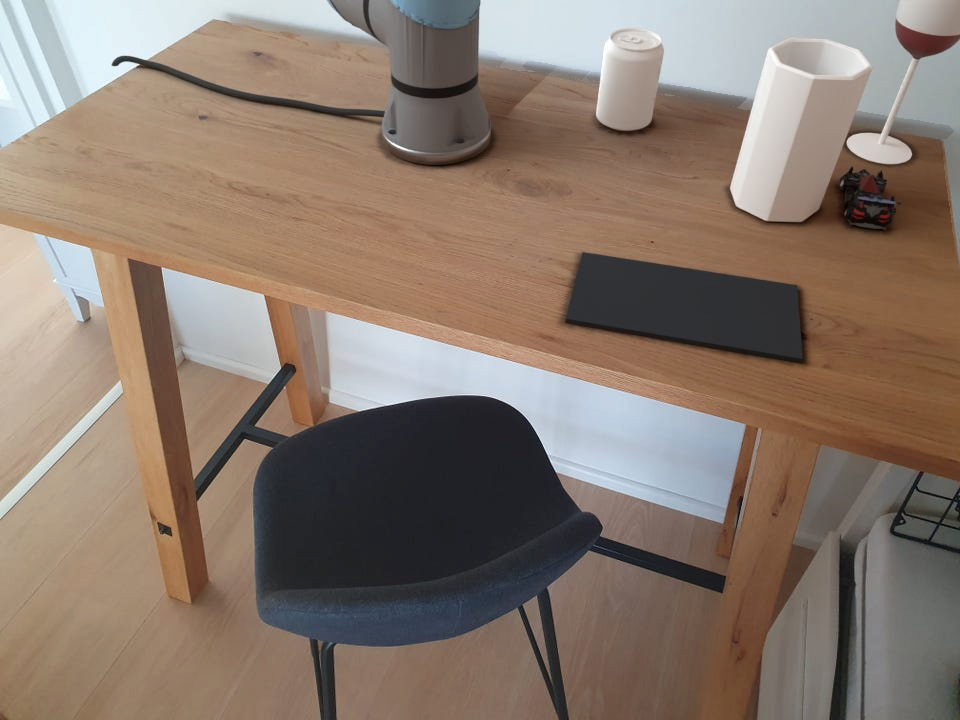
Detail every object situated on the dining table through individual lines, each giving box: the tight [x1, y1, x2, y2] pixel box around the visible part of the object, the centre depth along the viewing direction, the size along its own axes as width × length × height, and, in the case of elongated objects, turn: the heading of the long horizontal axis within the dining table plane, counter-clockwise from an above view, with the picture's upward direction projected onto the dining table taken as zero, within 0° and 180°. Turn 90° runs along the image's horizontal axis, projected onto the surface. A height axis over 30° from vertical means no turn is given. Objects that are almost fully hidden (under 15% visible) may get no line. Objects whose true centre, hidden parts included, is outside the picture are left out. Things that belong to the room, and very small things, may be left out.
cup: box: [729, 37, 873, 223], centre depth 91 cm, size 11×11×18 cm
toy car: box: [838, 165, 902, 231], centre depth 96 cm, size 6×12×4 cm, turn 166°
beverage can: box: [595, 27, 665, 132], centre depth 108 cm, size 8×8×12 cm
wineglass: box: [846, 0, 960, 165], centre depth 99 cm, size 9×10×23 cm
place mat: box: [564, 251, 804, 364], centre depth 83 cm, size 24×12×1 cm, turn 76°
